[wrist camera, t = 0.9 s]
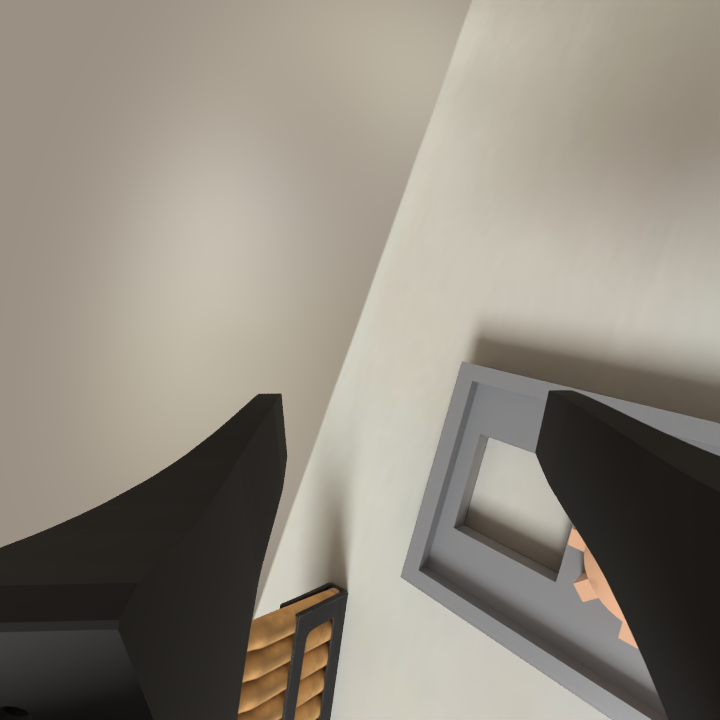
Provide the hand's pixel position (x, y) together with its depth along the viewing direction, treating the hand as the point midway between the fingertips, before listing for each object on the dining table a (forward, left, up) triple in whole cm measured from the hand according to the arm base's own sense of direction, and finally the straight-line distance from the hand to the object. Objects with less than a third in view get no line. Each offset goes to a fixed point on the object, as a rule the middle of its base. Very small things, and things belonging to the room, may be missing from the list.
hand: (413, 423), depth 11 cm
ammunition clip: (+11, +21, -17) cm, 29 cm away
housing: (-2, +4, -16) cm, 17 cm away
